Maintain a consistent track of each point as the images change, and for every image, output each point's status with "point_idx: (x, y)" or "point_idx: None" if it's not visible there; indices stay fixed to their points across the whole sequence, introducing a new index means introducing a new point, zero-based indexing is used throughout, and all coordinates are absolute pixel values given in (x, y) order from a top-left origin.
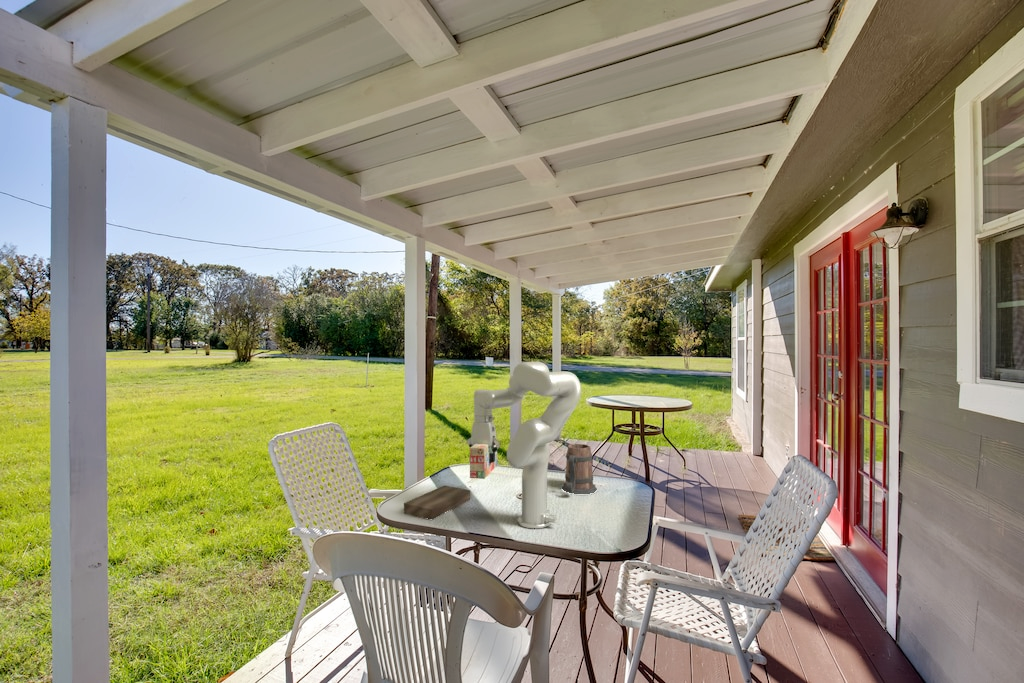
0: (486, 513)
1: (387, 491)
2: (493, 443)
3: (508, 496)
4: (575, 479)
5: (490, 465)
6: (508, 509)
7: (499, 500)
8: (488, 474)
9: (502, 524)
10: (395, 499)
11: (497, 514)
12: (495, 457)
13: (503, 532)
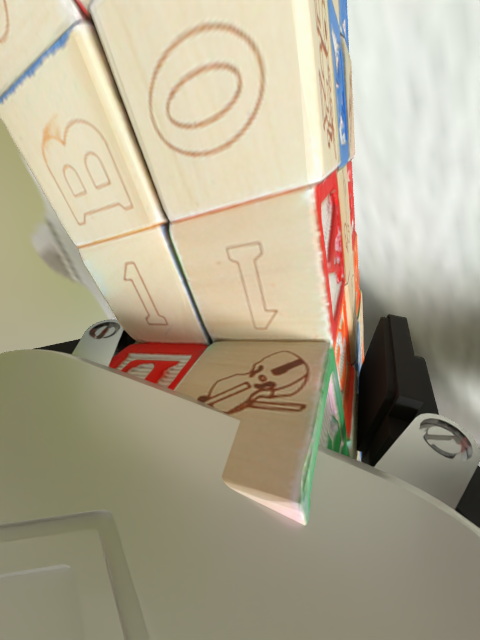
0: (374, 313)
1: (33, 244)
2: (420, 576)
3: (445, 15)
4: None
5: (356, 311)
6: (474, 248)
7: (393, 140)
8: (363, 342)
9: (464, 382)
10: (92, 287)
11: (424, 312)
12: (337, 23)
13: (476, 425)
